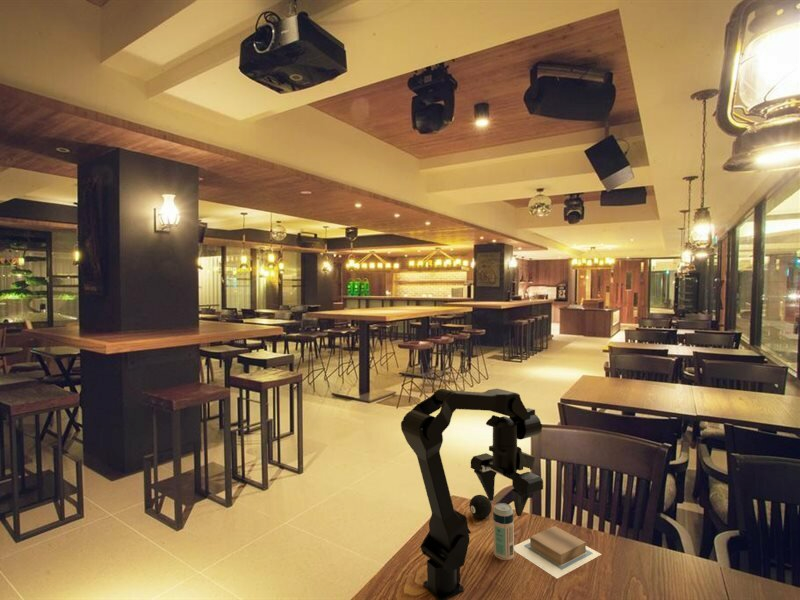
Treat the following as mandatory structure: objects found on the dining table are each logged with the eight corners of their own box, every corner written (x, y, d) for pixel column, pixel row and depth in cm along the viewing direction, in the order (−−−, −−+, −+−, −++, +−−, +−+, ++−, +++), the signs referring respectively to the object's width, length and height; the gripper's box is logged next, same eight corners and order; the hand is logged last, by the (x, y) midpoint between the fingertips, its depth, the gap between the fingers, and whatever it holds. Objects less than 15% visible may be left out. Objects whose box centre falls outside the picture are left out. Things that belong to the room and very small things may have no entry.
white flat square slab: (557, 581, 97) (557, 578, 97) (509, 550, 109) (509, 547, 109) (601, 556, 105) (601, 553, 105) (553, 530, 117) (553, 527, 117)
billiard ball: (496, 518, 124) (495, 497, 124) (480, 524, 121) (479, 503, 121) (481, 509, 129) (480, 489, 129) (465, 515, 126) (465, 494, 126)
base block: (561, 565, 101) (560, 554, 101) (530, 546, 109) (530, 536, 109) (585, 552, 106) (585, 542, 106) (554, 535, 114) (554, 525, 114)
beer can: (512, 550, 109) (511, 502, 108) (515, 562, 104) (514, 512, 104) (492, 550, 109) (491, 501, 109) (494, 562, 104) (494, 511, 104)
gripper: (559, 448, 102) (559, 515, 103) (501, 427, 118) (501, 486, 118) (525, 457, 97) (525, 528, 97) (469, 434, 113) (469, 496, 113)
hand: (504, 507), depth 106 cm, fingers open, 9 cm apart
